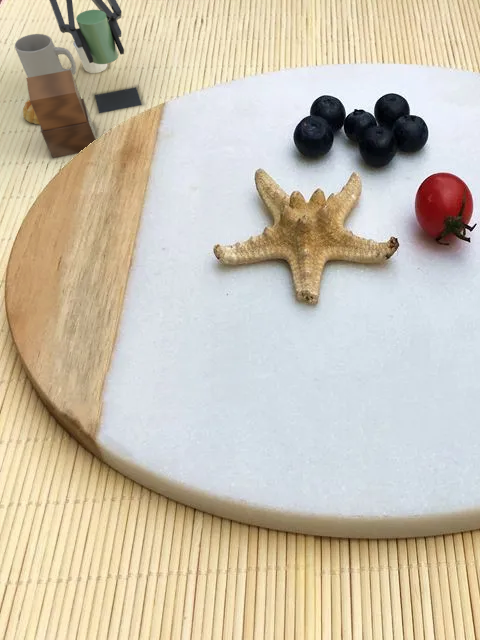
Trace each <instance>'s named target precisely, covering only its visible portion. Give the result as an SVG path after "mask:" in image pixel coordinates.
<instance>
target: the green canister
mask: <svg viewBox="0 0 480 640" xmlns="http://www.w3.org/2000/svg"><path fill="white" fill-rule="evenodd" d="M75 20H76V23H77V26H78V28H80V31H81V33H82V35H83V37H84V39H85V42H86V44H87V46H88V48H89V51H90V53H91V55H92V57H93V63H96V64H107V65H108V64H111V63H113V62H115V61H116V60H117V59H119V55H120V53H119V50H118V48H117V45H116V43H115V41H114V38H113V35H112V31H111V28H110V25H109V22H108V18H107V15H106V13H105V12H103V11H101V10H99V9H89V10H85V11H84V10H83V11H81V12H80V13H79V14H78V15H76V18H75Z"/></svg>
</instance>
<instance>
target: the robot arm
mask: <svg viewBox="0 0 480 640" xmlns="http://www.w3.org/2000/svg"><path fill="white" fill-rule="evenodd" d="M65 1H66V11H67V21H68V23H65V20H64V17H63V15H62V12H61V9H60V7H59V2H58V1H57V0H49V3H50V6H51V9H52V11H53V15H54V17H55V20H56V22H57V25H58V28H59V31H60V32H61V33H62V34H65V33H68V34H70V35H71V37H72V39H73V42H74V41H75V44H76V46H77V47H78V48H80V47H83V49H84V52H85V54H86V56H87V58H88V61H89V63H92V62H93V57H92V55H91V53H90V51H89V48H88V46H87V44H86V42H85V39H84V37H83V35H82V33H81V31H80V28H79V27H78V28H76V24H75V23H76V22H75V13H74V4H73V0H65ZM91 1H92V3H93V4H94V5H95V6H96V7H97V10H101V11H103V12H105V13H106V15H107V18H108V22H109V25H110V28H111V31H112V35H113V38H114V41H115V44H116V48H117V51H118V53H119V55H120V56H122V55H124V54H125V49H124V46H123V44H122V41H121V39H120V38H121V37H122V30H121V28H120V25H119V23H118V20H120V19H122V13H123V12H122V9H121V7H120V5H119V3H118V1H117V0H106V1H107V3H108V4H109V6H110V7H108V6H107V4H106V3H105V2H104V0H91ZM110 8H111V9H110Z"/></svg>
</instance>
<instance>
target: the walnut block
mask: <svg viewBox="0 0 480 640" xmlns="http://www.w3.org/2000/svg"><path fill="white" fill-rule="evenodd" d="M25 80H26V84H27V92H28V98H29V100H30V102H31V105H32V107H33V109H34V111H35V114H36V116H37V118H38V120H39V123H40V124H39V127H40V132H41V135H42V137H43V140H44V142H45V144H46V146H47V149H48V150H49V154H50V155H51V158H52V159H58V158H62V157H66V156H71V155H75V154H80V153H79V152H80V151H81V150H83V149H84V148H85V147H87V146H88V145H89V144H90V143H92V142H93V141H94V140H96V139H97V134H96V131H95V127H94V123H93V120H92V118H91V115H90V112H89V110H88V107H87V103H86V101H85V99H84V98H82V96H81V94H80V90H79V88H78V86H77V83H76V80H75V77H74V74H73V75H72V72H71V70H68V71H62V72H57V73H51V74H45V75H40V76H34V77H29V78H28V77H26V79H25Z"/></svg>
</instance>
